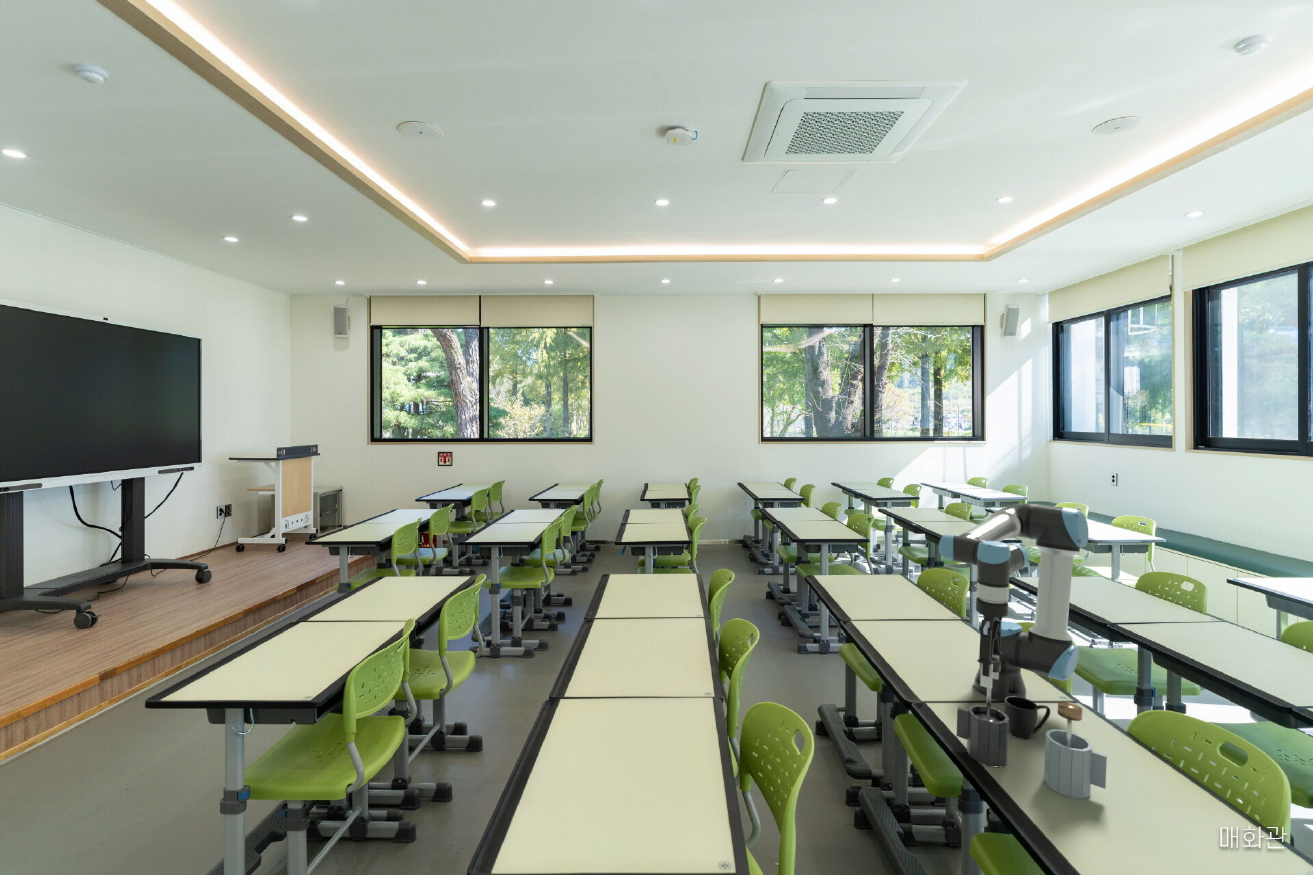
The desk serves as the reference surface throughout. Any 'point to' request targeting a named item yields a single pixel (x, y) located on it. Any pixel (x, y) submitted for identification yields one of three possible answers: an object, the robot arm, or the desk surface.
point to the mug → (1023, 716)
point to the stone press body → (1073, 765)
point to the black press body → (984, 735)
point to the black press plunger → (987, 716)
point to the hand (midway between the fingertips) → (989, 681)
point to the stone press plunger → (1069, 716)
